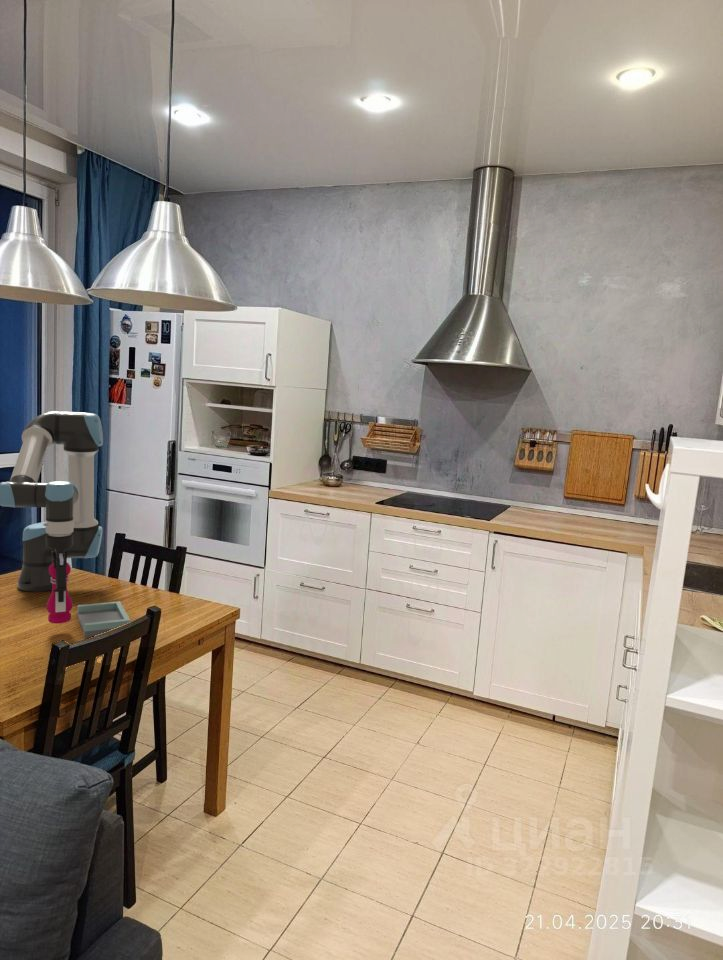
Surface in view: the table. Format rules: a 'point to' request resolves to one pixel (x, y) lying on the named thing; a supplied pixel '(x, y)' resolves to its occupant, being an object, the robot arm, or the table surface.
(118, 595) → the table surface
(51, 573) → the pepper mill
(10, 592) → the table surface
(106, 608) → the tray
